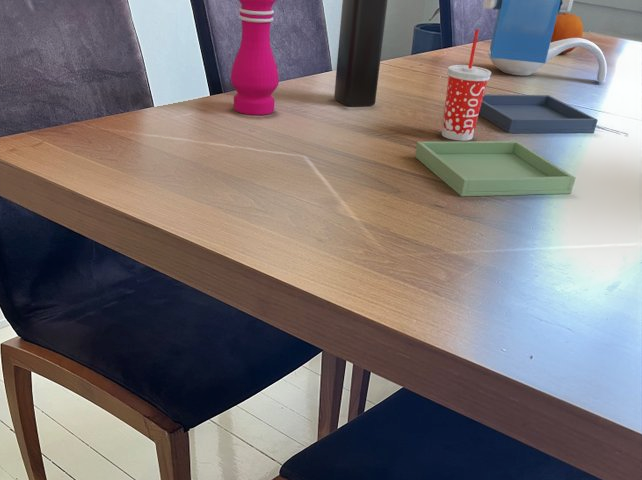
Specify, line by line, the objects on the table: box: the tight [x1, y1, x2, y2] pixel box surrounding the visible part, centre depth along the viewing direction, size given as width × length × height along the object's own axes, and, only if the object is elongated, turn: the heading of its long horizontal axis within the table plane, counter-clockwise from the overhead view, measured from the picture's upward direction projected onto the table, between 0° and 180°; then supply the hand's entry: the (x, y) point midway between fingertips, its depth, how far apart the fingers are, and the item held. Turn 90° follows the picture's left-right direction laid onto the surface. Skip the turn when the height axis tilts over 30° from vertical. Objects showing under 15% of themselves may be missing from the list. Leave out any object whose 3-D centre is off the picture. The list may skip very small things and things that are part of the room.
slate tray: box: [478, 94, 599, 134], centre depth 119 cm, size 15×15×2 cm
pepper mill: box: [230, 0, 280, 116], centre depth 106 cm, size 7×7×20 cm
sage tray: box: [414, 140, 576, 197], centre depth 95 cm, size 15×15×2 cm
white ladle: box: [488, 37, 608, 84], centre depth 147 cm, size 24×12×7 cm, turn 79°
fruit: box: [550, 12, 584, 54], centre depth 169 cm, size 11×10×8 cm
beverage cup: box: [441, 28, 492, 141], centre depth 105 cm, size 6×6×14 cm
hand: (527, 10), depth 84 cm, fingers closed on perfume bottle, 7 cm apart
